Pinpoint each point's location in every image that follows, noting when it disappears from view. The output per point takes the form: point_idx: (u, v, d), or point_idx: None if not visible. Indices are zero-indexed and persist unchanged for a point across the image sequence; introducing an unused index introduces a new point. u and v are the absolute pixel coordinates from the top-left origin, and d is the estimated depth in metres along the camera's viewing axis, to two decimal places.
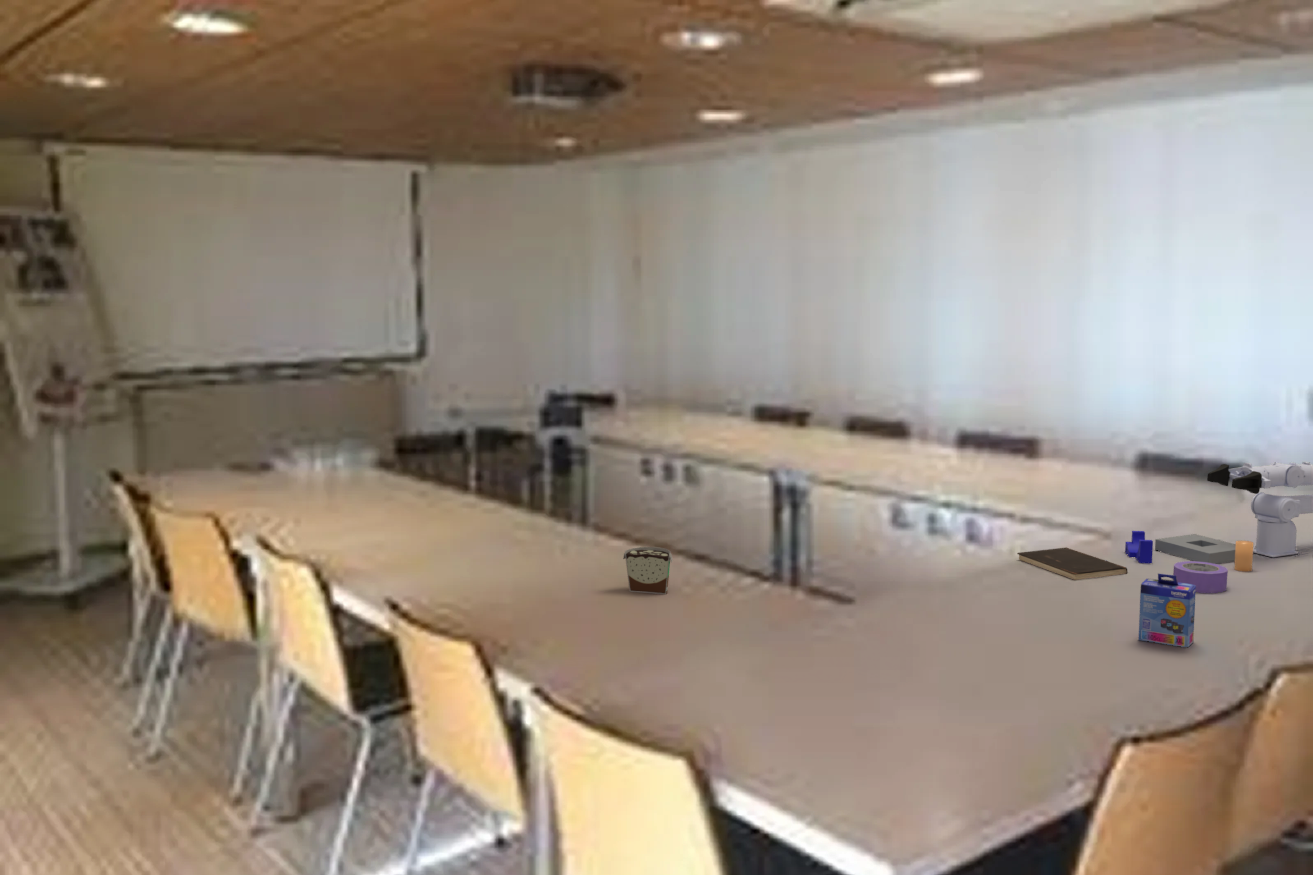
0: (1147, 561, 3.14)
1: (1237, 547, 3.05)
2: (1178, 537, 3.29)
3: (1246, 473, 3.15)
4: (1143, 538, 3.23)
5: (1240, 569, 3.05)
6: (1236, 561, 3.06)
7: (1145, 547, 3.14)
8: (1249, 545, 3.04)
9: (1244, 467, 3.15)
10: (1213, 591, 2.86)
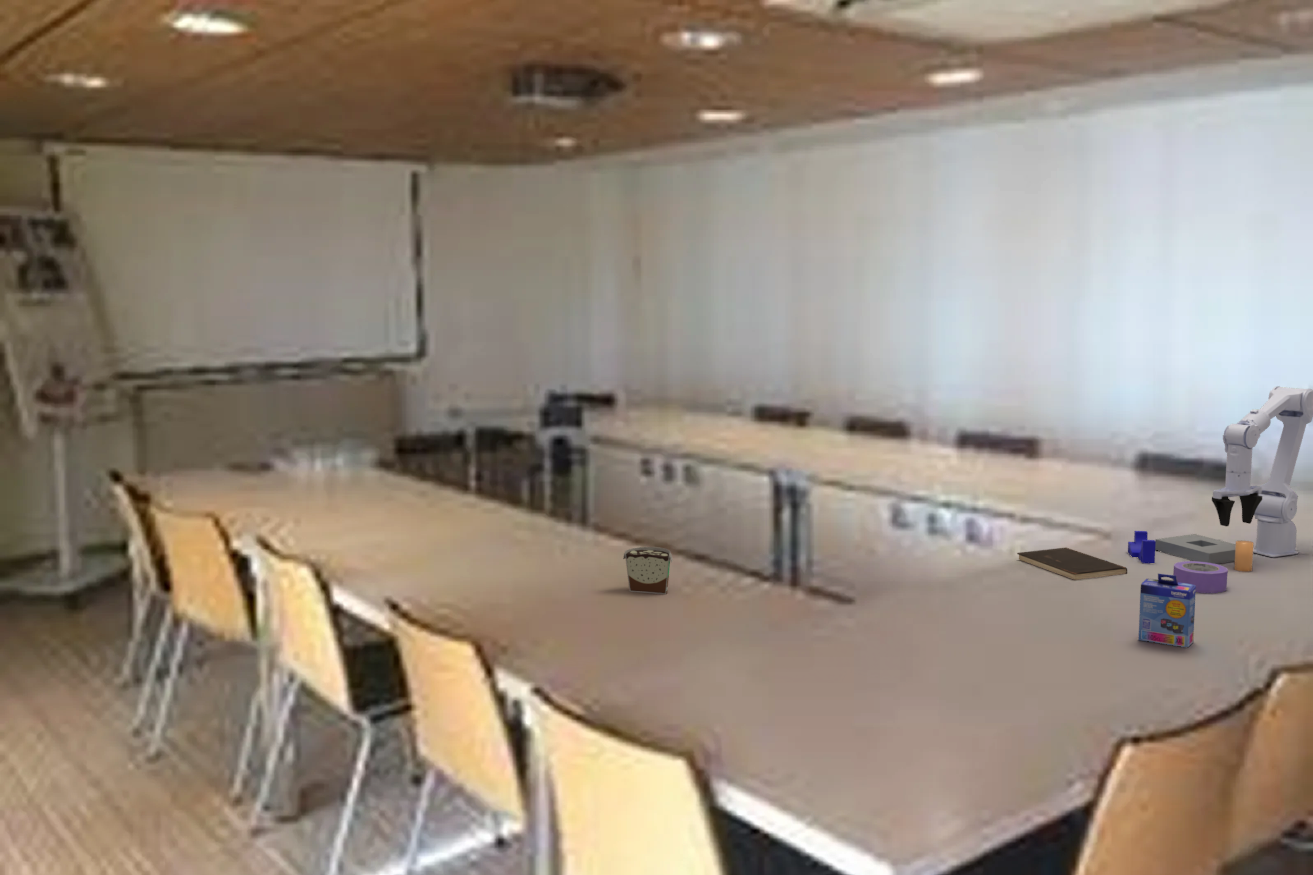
0: (1150, 561, 3.14)
1: (1237, 547, 3.05)
2: (1178, 537, 3.29)
3: None
4: (1146, 538, 3.23)
5: (1240, 569, 3.05)
6: (1236, 561, 3.06)
7: (1148, 547, 3.14)
8: (1249, 545, 3.04)
9: (1245, 493, 3.07)
10: (1213, 591, 2.86)
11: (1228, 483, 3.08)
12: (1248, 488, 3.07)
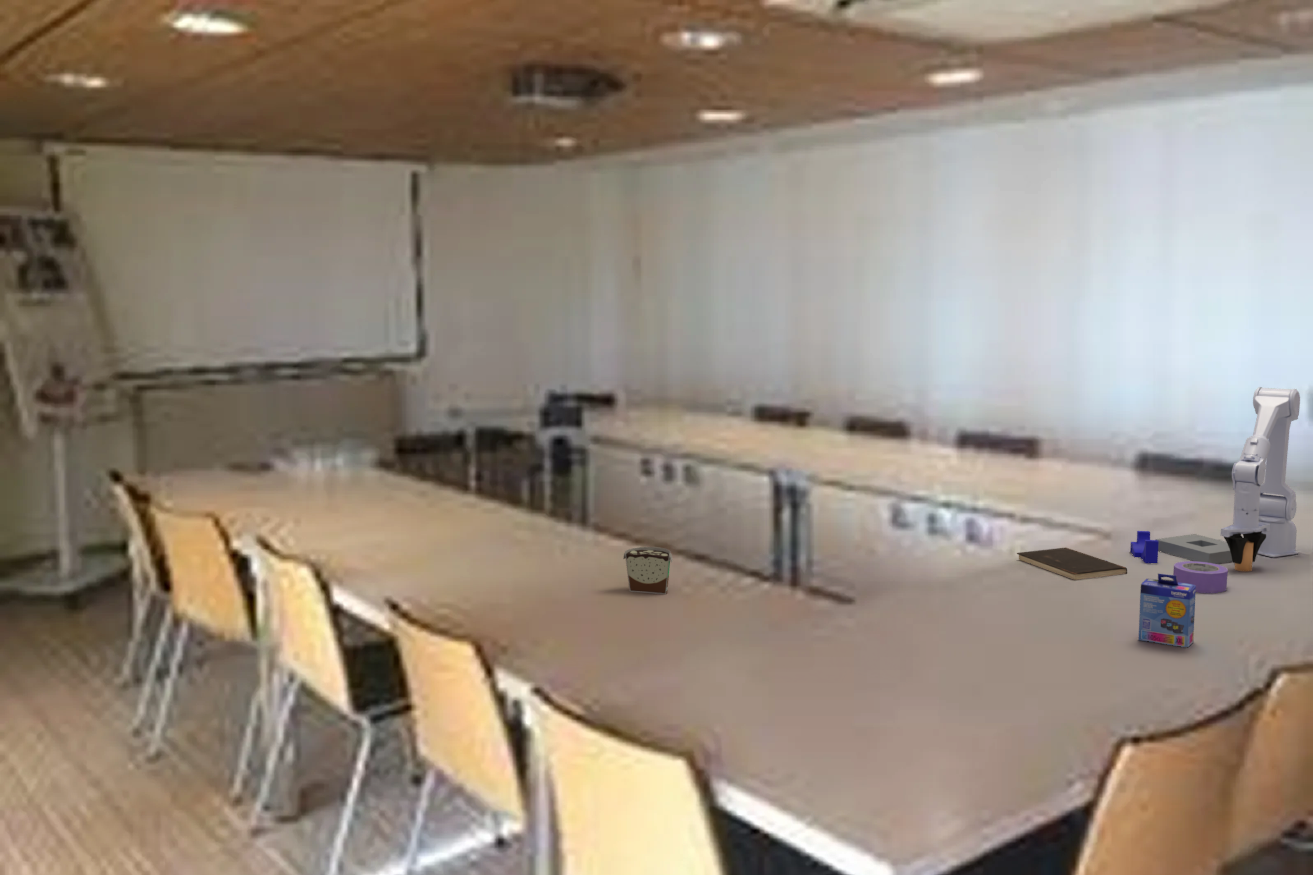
0: (1153, 561, 3.14)
1: None
2: (1178, 537, 3.29)
3: None
4: (1148, 538, 3.23)
5: (1240, 569, 3.05)
6: None
7: (1151, 547, 3.13)
8: (1249, 545, 3.04)
9: (1253, 531, 3.02)
10: (1213, 591, 2.86)
11: (1236, 521, 3.04)
12: (1256, 526, 3.02)
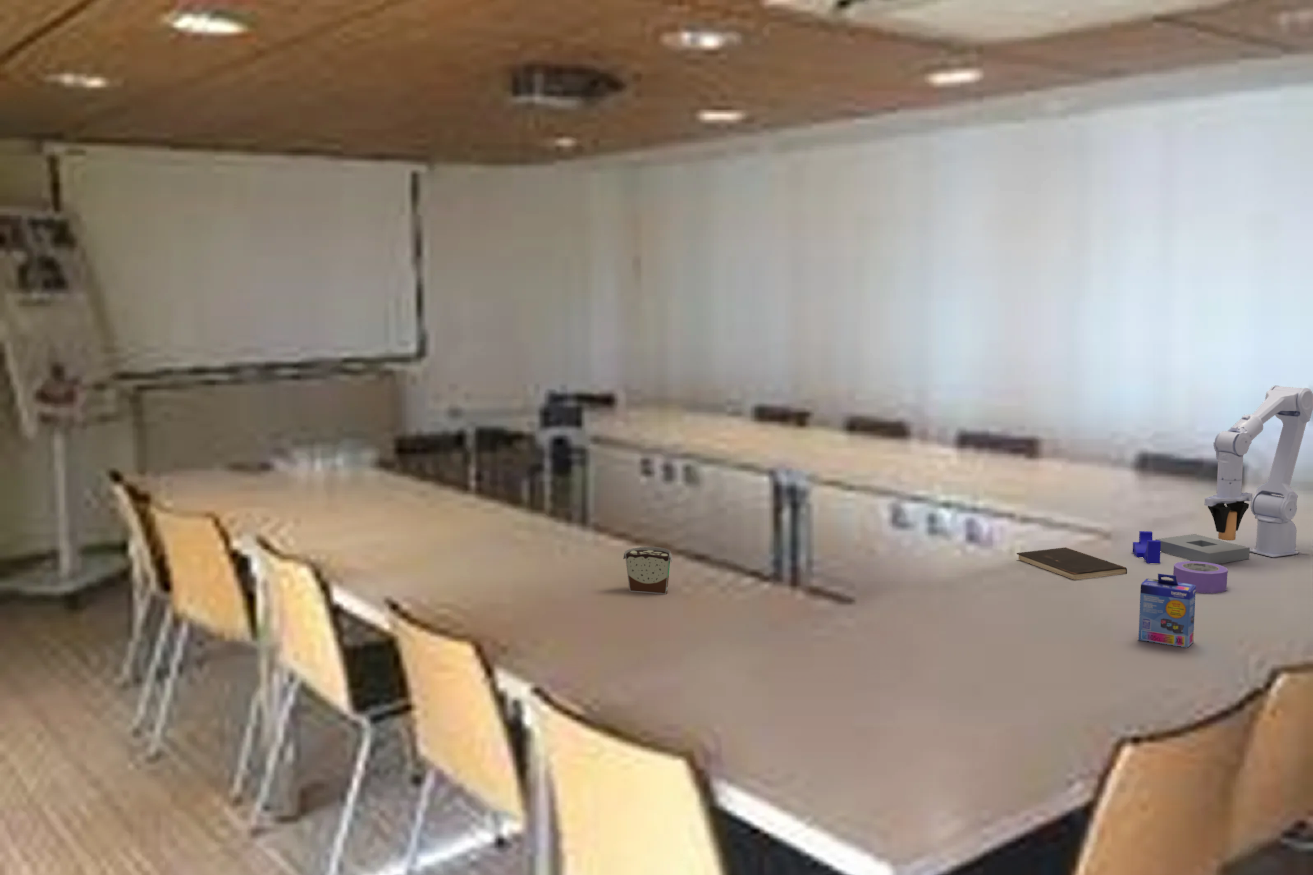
0: (1155, 561, 3.14)
1: None
2: (1178, 537, 3.29)
3: None
4: (1150, 538, 3.23)
5: (1224, 538, 3.11)
6: None
7: (1153, 548, 3.13)
8: (1233, 514, 3.09)
9: (1236, 500, 3.08)
10: (1213, 591, 2.86)
11: (1219, 490, 3.09)
12: (1239, 495, 3.08)
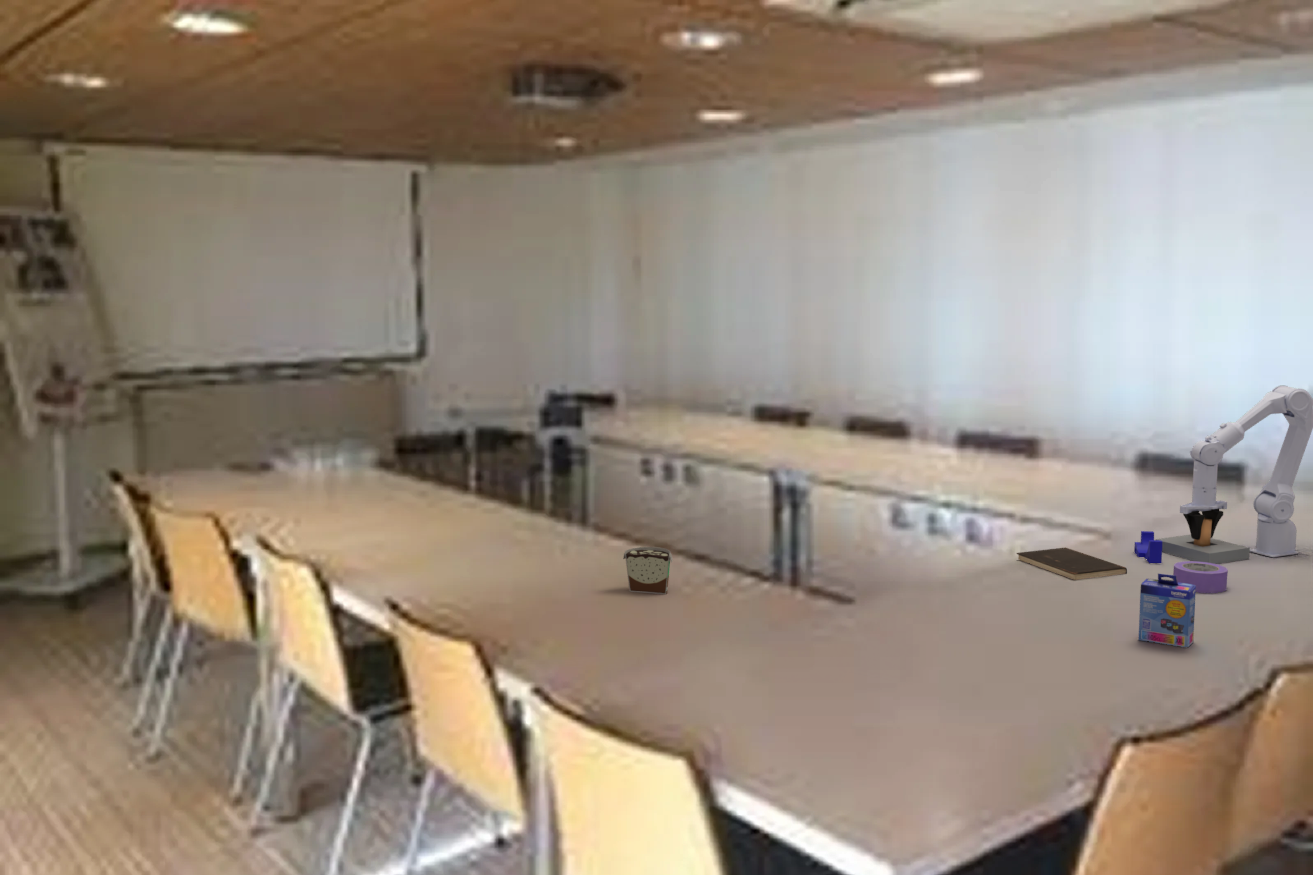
0: (1157, 561, 3.14)
1: None
2: (1178, 537, 3.29)
3: None
4: (1152, 538, 3.23)
5: (1198, 545, 3.20)
6: None
7: (1155, 548, 3.13)
8: (1207, 522, 3.19)
9: (1210, 508, 3.18)
10: (1213, 591, 2.86)
11: (1194, 498, 3.19)
12: (1214, 503, 3.18)
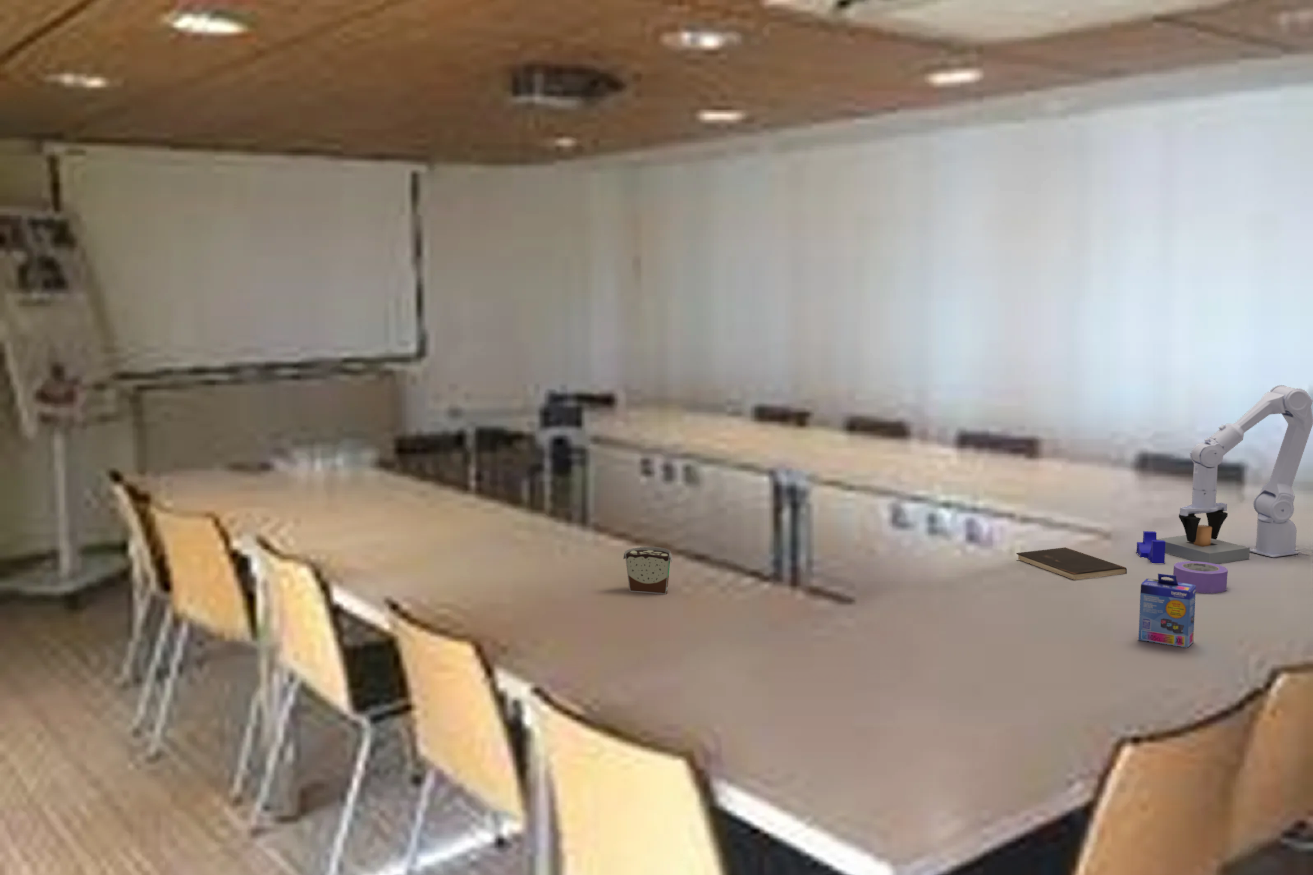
0: (1159, 561, 3.14)
1: None
2: (1178, 537, 3.29)
3: None
4: (1155, 538, 3.23)
5: None
6: (1195, 544, 3.21)
7: (1158, 548, 3.13)
8: (1207, 529, 3.19)
9: (1210, 510, 3.18)
10: (1213, 591, 2.86)
11: (1194, 500, 3.19)
12: (1214, 505, 3.18)
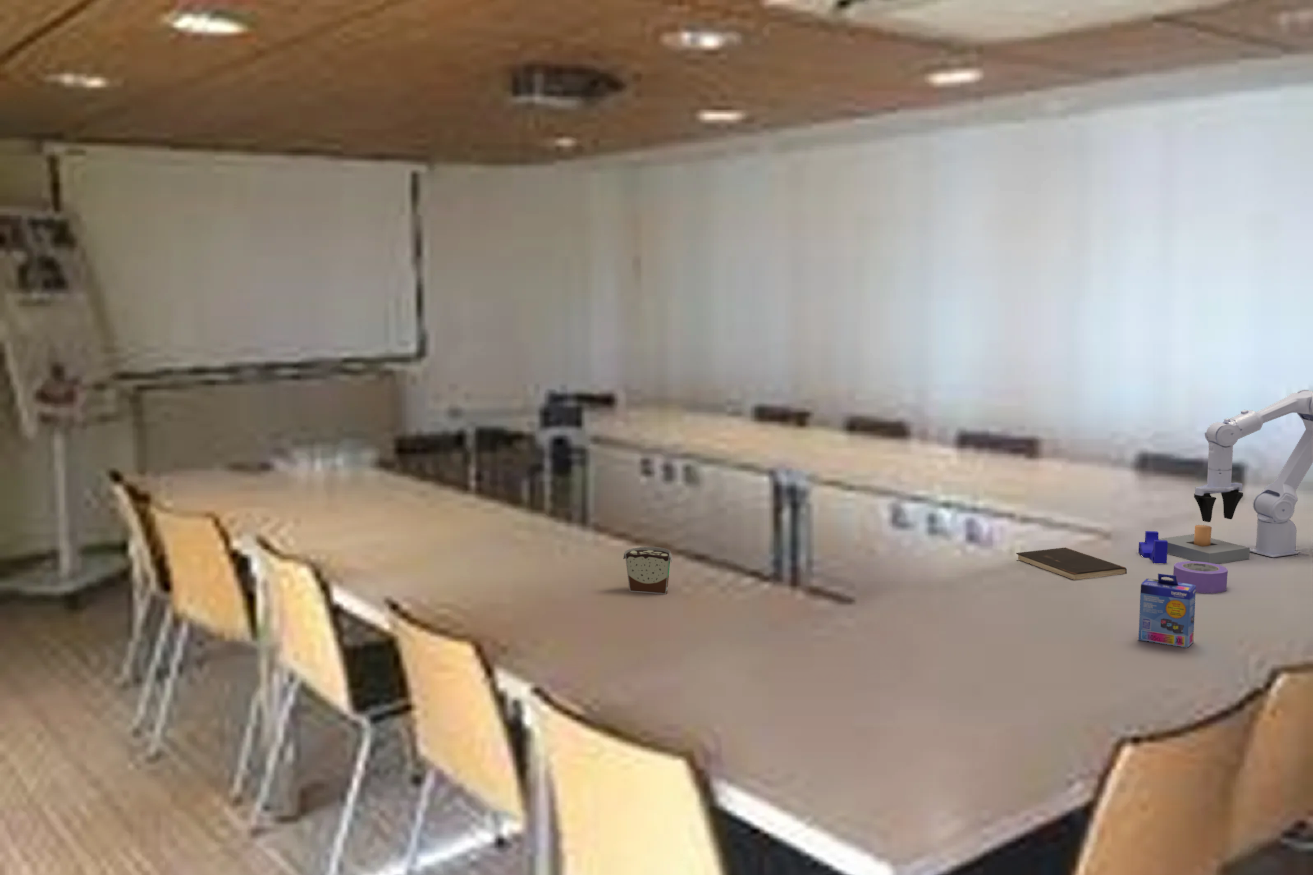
0: (1162, 561, 3.13)
1: (1196, 531, 3.21)
2: (1178, 537, 3.29)
3: None
4: (1157, 538, 3.23)
5: None
6: (1195, 544, 3.21)
7: (1160, 548, 3.13)
8: (1207, 529, 3.19)
9: (1226, 490, 3.16)
10: (1213, 591, 2.86)
11: (1210, 480, 3.18)
12: (1229, 485, 3.17)
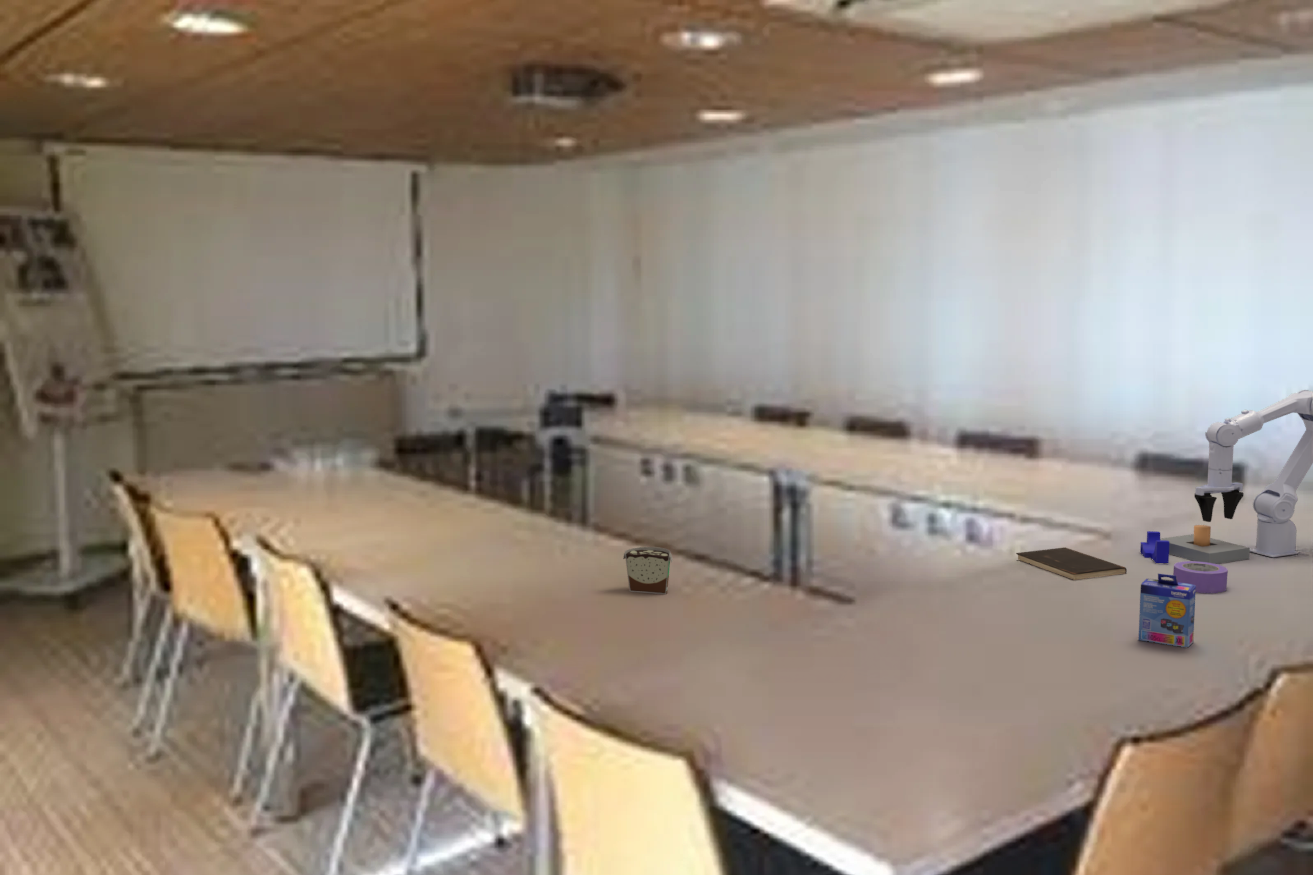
0: (1163, 562, 3.13)
1: (1195, 531, 3.21)
2: (1178, 537, 3.29)
3: None
4: (1158, 538, 3.23)
5: None
6: (1195, 544, 3.21)
7: (1162, 548, 3.13)
8: (1206, 529, 3.19)
9: (1226, 490, 3.16)
10: (1213, 591, 2.86)
11: (1210, 480, 3.18)
12: (1229, 485, 3.17)
